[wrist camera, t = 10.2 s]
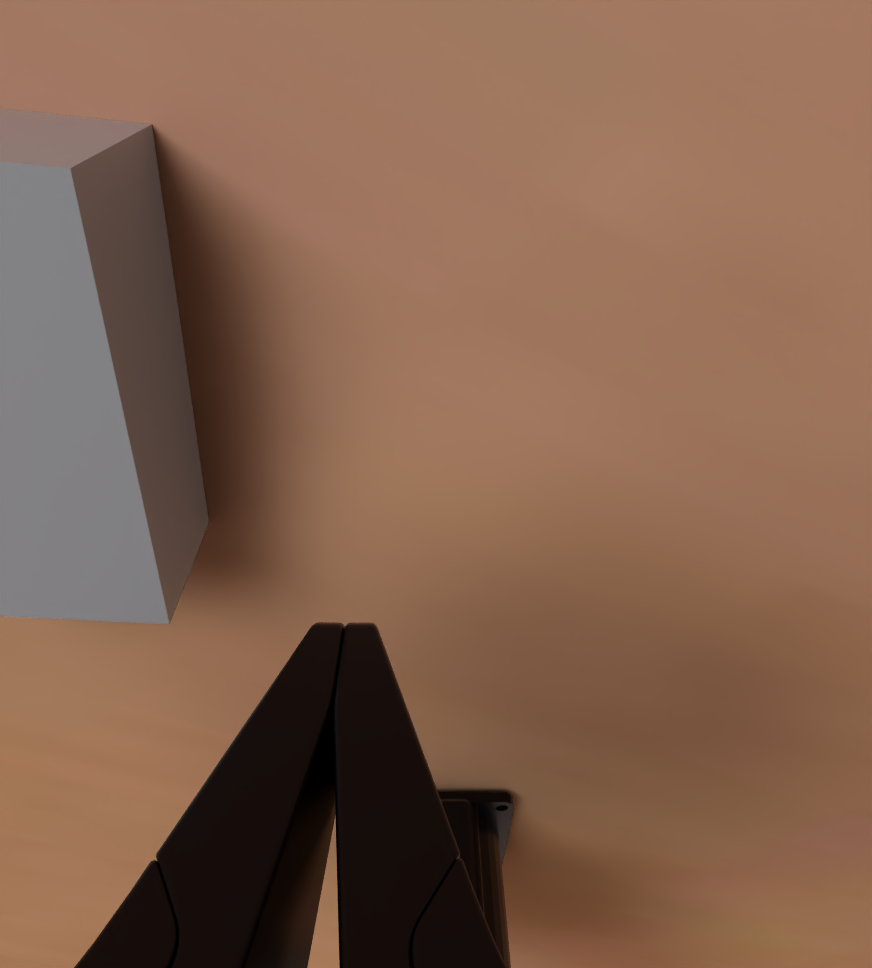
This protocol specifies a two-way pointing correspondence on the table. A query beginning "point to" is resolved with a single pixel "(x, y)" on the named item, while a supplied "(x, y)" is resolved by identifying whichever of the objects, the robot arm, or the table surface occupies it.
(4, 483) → the slab
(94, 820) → the table surface
